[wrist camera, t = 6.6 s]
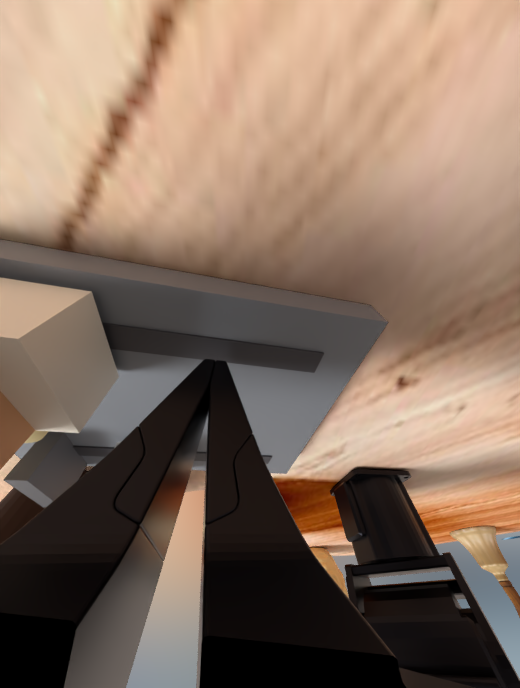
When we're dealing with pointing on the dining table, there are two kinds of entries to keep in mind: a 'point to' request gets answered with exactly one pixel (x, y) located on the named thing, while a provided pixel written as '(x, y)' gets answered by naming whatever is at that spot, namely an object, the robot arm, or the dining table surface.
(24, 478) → the console panel
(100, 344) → the cream slider
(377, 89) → the dining table surface
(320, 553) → the sculpture
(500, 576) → the hand bell
